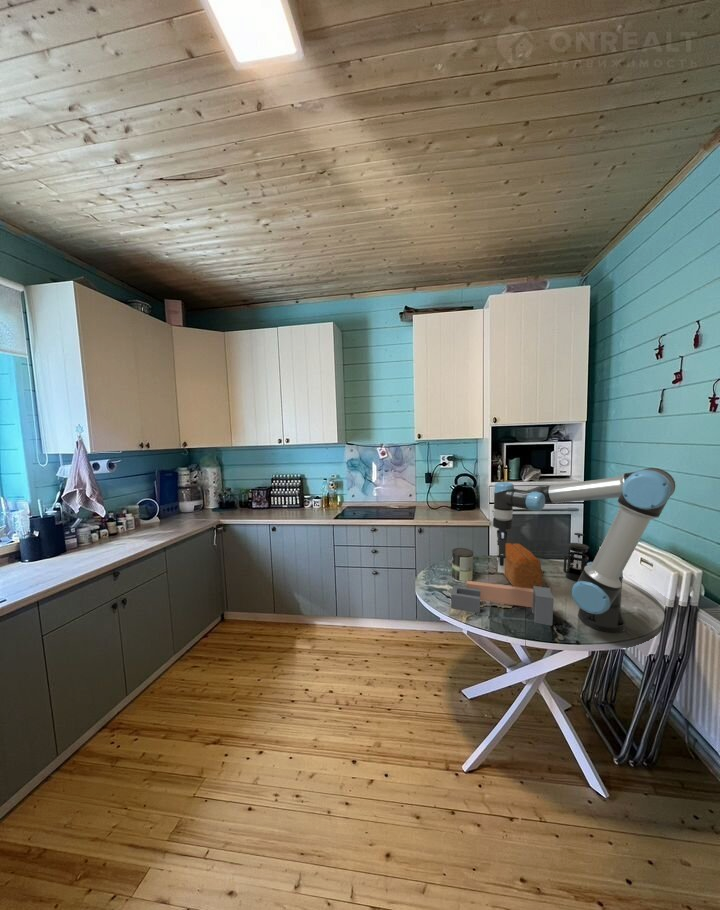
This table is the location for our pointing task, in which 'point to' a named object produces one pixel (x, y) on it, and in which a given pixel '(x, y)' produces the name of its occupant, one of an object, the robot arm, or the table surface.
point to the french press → (575, 568)
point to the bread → (522, 567)
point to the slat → (503, 593)
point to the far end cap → (465, 599)
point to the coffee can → (462, 565)
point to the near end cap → (542, 605)
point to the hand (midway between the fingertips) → (500, 566)
